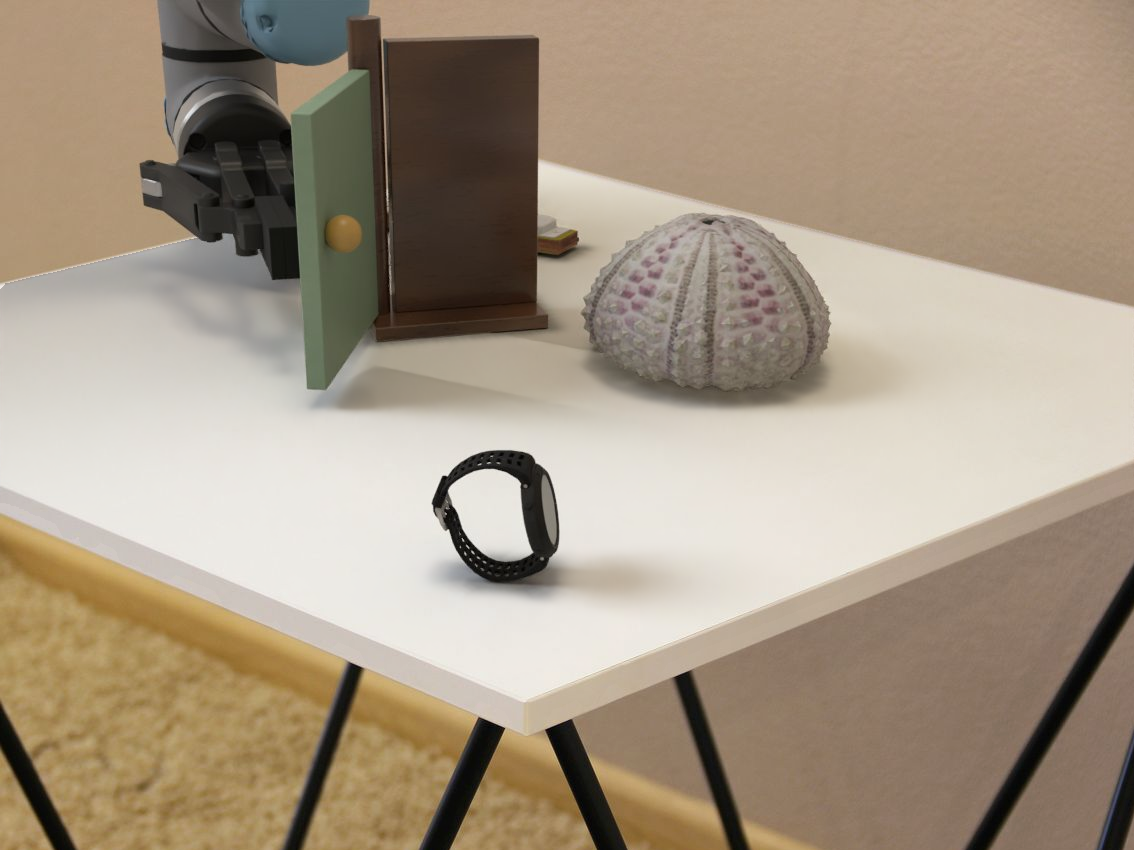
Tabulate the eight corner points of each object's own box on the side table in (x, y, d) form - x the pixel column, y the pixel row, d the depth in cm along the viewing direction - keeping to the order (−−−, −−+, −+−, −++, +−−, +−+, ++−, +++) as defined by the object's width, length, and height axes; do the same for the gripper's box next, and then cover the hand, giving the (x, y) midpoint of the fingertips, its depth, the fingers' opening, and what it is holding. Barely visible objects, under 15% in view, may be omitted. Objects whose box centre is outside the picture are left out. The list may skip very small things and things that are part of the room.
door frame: (369, 342, 85) (356, 25, 77) (350, 309, 90) (336, 9, 83) (548, 327, 88) (552, 21, 80) (520, 297, 93) (521, 6, 86)
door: (360, 392, 75) (348, 115, 69) (306, 389, 75) (289, 113, 70) (408, 316, 86) (401, 71, 80) (361, 314, 86) (350, 69, 80)
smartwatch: (534, 607, 58) (535, 487, 56) (419, 576, 60) (416, 459, 58) (583, 563, 61) (585, 449, 59) (473, 535, 63) (471, 423, 61)
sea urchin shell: (657, 309, 91) (663, 176, 88) (869, 354, 85) (884, 212, 81) (534, 373, 81) (536, 225, 77) (765, 429, 75) (777, 271, 71)
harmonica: (579, 247, 103) (579, 218, 102) (558, 258, 100) (558, 229, 100) (395, 218, 109) (395, 190, 108) (371, 228, 106) (370, 200, 105)
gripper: (343, 204, 101) (414, 314, 80) (138, 215, 97) (159, 334, 77) (337, 88, 97) (410, 173, 77) (126, 95, 94) (144, 186, 73)
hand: (285, 253), depth 77 cm, fingers closed
